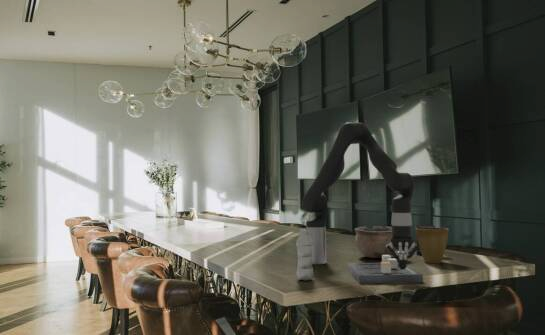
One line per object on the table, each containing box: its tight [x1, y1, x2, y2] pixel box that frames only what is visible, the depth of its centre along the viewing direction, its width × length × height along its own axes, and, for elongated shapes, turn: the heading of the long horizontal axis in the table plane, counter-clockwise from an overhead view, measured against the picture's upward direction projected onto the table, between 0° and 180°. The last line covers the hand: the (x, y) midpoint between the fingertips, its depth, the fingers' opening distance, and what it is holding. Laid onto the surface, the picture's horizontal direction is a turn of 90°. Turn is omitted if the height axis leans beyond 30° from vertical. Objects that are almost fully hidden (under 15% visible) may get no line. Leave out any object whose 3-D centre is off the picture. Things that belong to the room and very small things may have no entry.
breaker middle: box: [387, 257, 398, 269], centre depth 195 cm, size 3×4×3 cm
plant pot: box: [415, 227, 450, 264], centre depth 227 cm, size 15×15×16 cm
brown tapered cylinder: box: [415, 224, 436, 257], centre depth 250 cm, size 10×10×15 cm
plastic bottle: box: [295, 228, 315, 282], centre depth 188 cm, size 6×7×20 cm
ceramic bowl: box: [354, 225, 397, 259], centre depth 242 cm, size 22×22×15 cm
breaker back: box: [381, 255, 392, 262], centre depth 205 cm, size 3×4×3 cm
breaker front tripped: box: [380, 261, 391, 273], centre depth 185 cm, size 3×4×4 cm
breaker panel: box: [347, 262, 424, 284], centre depth 195 cm, size 24×28×3 cm
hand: (402, 269), depth 185 cm, fingers closed
